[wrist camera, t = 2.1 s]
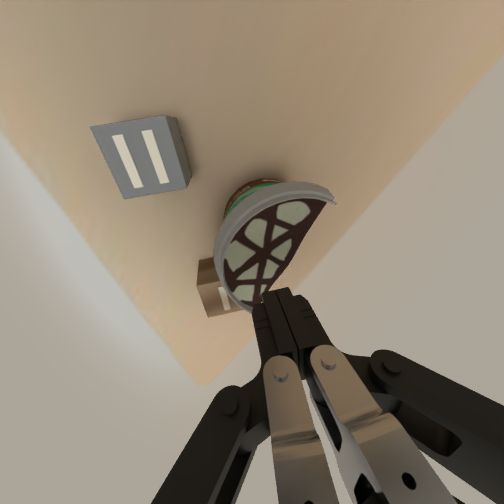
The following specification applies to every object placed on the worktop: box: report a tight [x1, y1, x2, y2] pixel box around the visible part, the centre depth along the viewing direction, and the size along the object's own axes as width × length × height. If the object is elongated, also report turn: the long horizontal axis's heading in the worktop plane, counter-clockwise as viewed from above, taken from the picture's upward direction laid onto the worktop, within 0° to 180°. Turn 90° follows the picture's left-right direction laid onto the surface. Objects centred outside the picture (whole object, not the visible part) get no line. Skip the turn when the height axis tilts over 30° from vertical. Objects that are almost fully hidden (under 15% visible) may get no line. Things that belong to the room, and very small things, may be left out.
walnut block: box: [197, 258, 244, 317], centre depth 26 cm, size 5×5×5 cm
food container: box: [214, 179, 336, 314], centre depth 19 cm, size 12×6×10 cm, turn 153°
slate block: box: [90, 115, 192, 199], centre depth 17 cm, size 5×5×5 cm
